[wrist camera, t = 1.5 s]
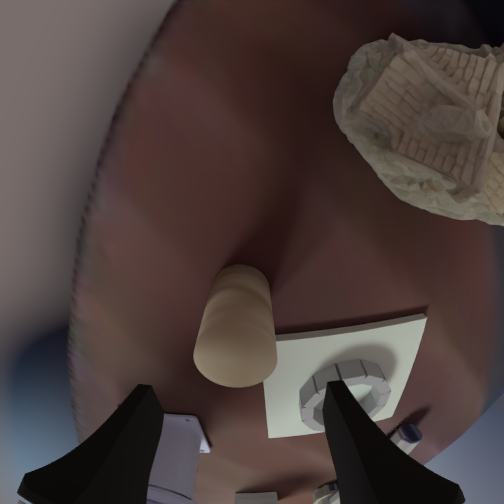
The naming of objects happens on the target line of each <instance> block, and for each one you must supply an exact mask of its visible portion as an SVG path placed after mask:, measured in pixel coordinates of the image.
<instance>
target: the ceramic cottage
mask: <svg viewBox="0 0 504 504" xmlns="http://www.w3.org/2000/svg"><path fill="white" fill-rule="evenodd" d="M347 68H348V70H347V72H346V73H345V74H344V75H343V76H342V79H341V81H339V83H340V84H339V86H338V87H337V90H336V91H335V95H334V99H333V110H334V116H335V120H336V123H337V124H338V125H339V128H340V129H341V131H342V132H343V133H344V134H346V136H347V139H348V140H349V142H350V143H353V145H354V146H355V148H356V149H357V150H358V151H359V153H360V154H361V155H362V156H363V158H364V159H365V160H366V161H367V162H368V163H369V164H370V165H371V167H372V168H373V170H374V171H375V172H376V173H377V175H378V177H379V178H380V179H381V180H382V182H383V184H385V185H386V186H387V187H388V188H389V189H390V190H391V191H392V192H393V193H394V194H395V195H396V196H397V197H398V198H399V199H400V200H402V201H404V202H408V203H409V204H411V205H413V206H417V207H419V208H421V209H425V210H427V211H429V212H430V213H434V214H438V215H443V216H447V217H450V218H453V219H457V220H472V219H478V220H481V221H483V222H486V223H488V224H496V225H502V226H504V43H503V44H502V46H501V47H500V48H498V47H494V48H491V47H490V46H489V45H485V44H482V45H481V47H480V48H479V49H470V48H468V47H465V46H463V45H454V44H448V43H429V42H427V41H425V40H422V39H419V40H414V41H407V40H405V39H403V38H401V37H399V36H397V35H395V34H394V33H391V35H390V36H389V38H388V41H385V40H383V39H381V40H377V41H374V42H371V43H368V44H364V45H363V46H362V47H360V48H359V49H358V50H357V51H356V52H355V54H354V55H353V56H351V60H350V61H349V64H348V66H347Z"/></svg>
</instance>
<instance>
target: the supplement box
mask: <svg viewBox="0 0 504 504" xmlns="http://www.w3.org/2000/svg"><path fill="white" fill-rule="evenodd" d="M235 504H278V497H277V492H265V493H235Z"/></svg>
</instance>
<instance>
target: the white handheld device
mask: <svg viewBox="0 0 504 504" xmlns="http://www.w3.org/2000/svg"><path fill="white" fill-rule="evenodd" d="M422 435H423V434H422V432H421V431H420V429H419V428H418V427H417V426H415V425H413V424H401V425H400V426H399V428H398V429H397V430H396V431H395V432H394V433H393V434H392V436H391V437H390V438H389V439H390V440H391V441H392V442H394V443H395V444H396V445H397V446H398V447H399V448H400V449H401V450H403V451H404V452H405V453H406V454H408V455H409V453H410V451H411V450H412V449H413V448H414V447H415V446H416V445H417V444H418V443H419V442H420V440H421V438H422ZM313 493H314V494H313V496H314V500H313V504H340V498H339V489H338V484H328V485H324V486H323V487H321V488H317V489H316V490H314V491H313Z"/></svg>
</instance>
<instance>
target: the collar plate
mask: <svg viewBox="0 0 504 504" xmlns="http://www.w3.org/2000/svg"><path fill="white" fill-rule="evenodd" d="M426 320H427V317H426V316H425V315H424V314H423V313H421V314H416V315H411V316H406V317H401V318H396V319H391V320H385V321H380V322H374V323H368V324H362V325H355V326H349V327H342V328H334V329H327V330H319V331H310V332H301V333H292V334H281V335H275V339H276V348H277V357H278V360H277V366H276V368H275V370H274V372H273V373H272V374H271V375H270V376H269V377H268V378H267V379H265V380H264V381H263V383H264V394H265V404H266V414H267V425H268V435H269V438H276V437H287V436H297V435H305V434H313V433H319V432H325V428H324V421H323V413H322V408H323V403H324V397H325V392H326V386H327V382H329V381H336V380H343V381H344V382H345V384H346V385H347V387H348V388H349V390H350V391H351V393H352V394H353V396H354V397H355V398H356V400H357V401H358V403H359V404H360V405H361V407H362V408H363V409H364V410H365V412H366V413H367V414H368V415H369V417H370V418H371V419H372V420H373V421H378V420H382V419H385V418H389V417H392V415H393V413H394V411H395V408H396V406H397V404H398V402H399V399H400V397H401V394H402V392H403V389H404V387H405V384H406V382H407V379H408V377H409V374H410V371H411V368H412V365H413V363H414V360H415V357H416V354H417V351H418V347H419V344H420V341H421V338H422V334H423V331H424V327H425V324H426Z"/></svg>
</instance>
